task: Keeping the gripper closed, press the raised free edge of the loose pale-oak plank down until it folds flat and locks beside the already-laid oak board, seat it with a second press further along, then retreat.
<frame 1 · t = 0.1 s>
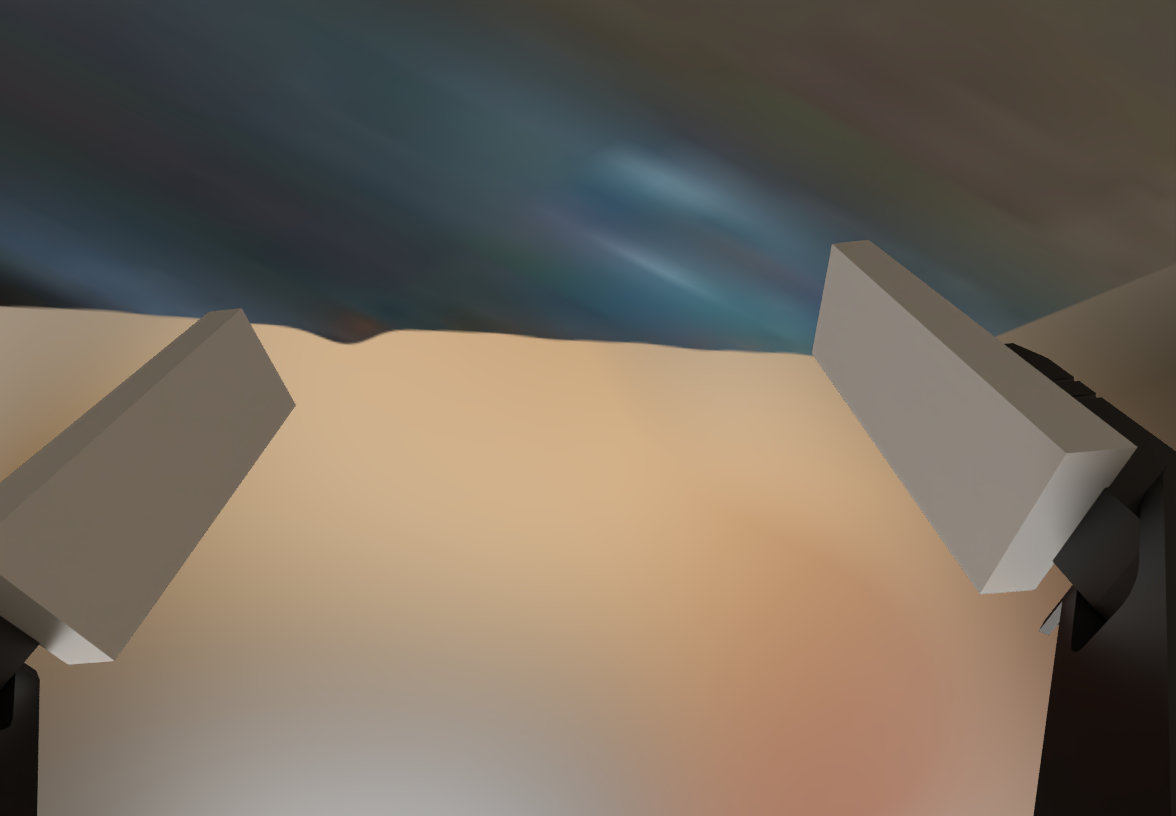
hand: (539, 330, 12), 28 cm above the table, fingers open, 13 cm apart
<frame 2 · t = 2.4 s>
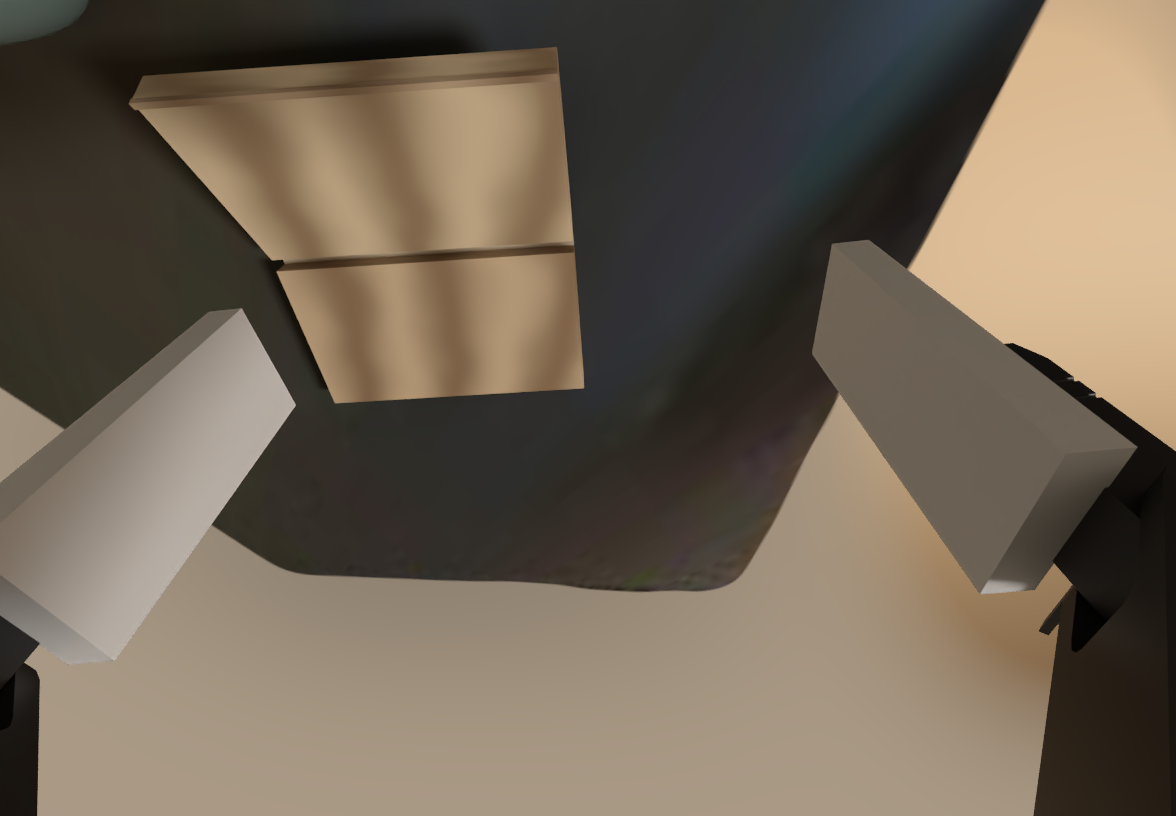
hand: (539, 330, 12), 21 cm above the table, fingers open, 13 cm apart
loose plank: (390, 172, 27), point 3 cm above the table, hinge at 28.0°
laid board: (448, 322, 36), on the table
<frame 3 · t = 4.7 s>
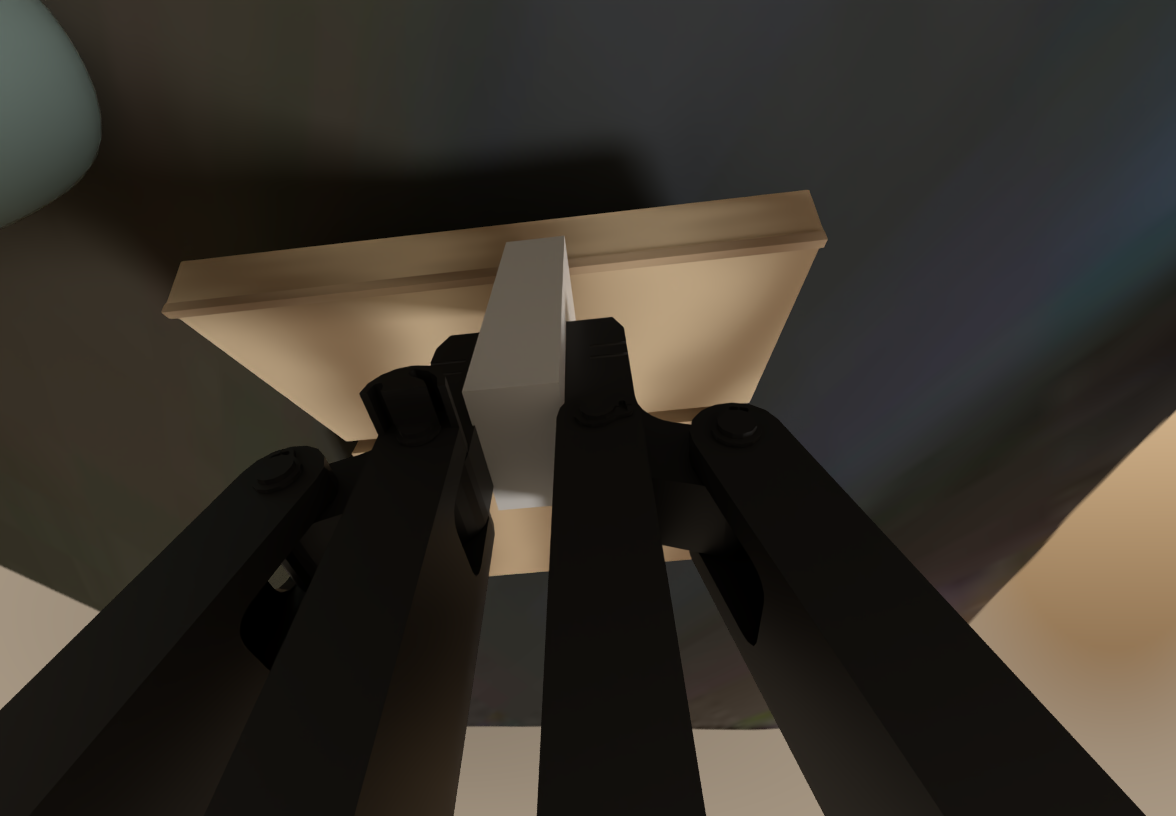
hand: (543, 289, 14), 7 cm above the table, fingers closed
cup: (11, 61, 16), on the table
loose plank: (521, 348, 19), point 3 cm above the table, hinge at 27.1°, touching gripper
laid board: (562, 486, 28), on the table
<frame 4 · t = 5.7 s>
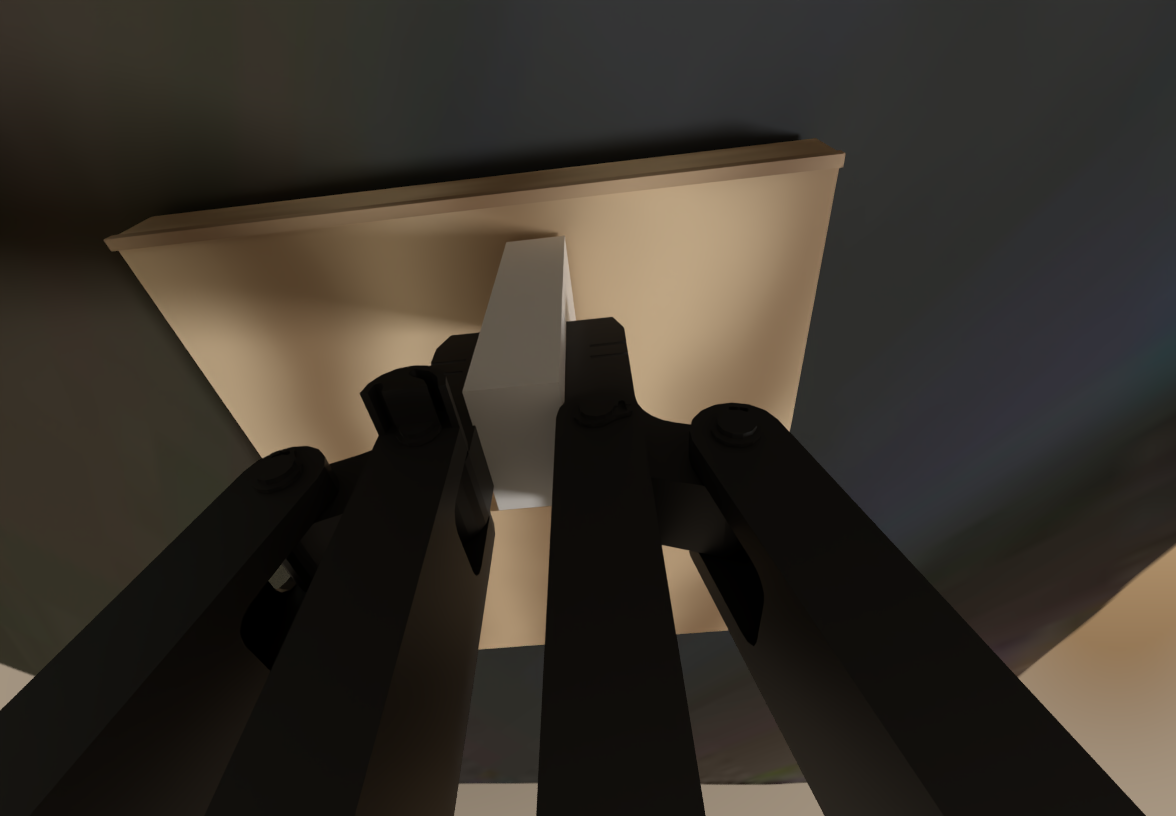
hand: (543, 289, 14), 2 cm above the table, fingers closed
loose plank: (507, 353, 16), point 1 cm above the table, hinge at 1.3°, touching gripper
laid board: (559, 552, 24), on the table
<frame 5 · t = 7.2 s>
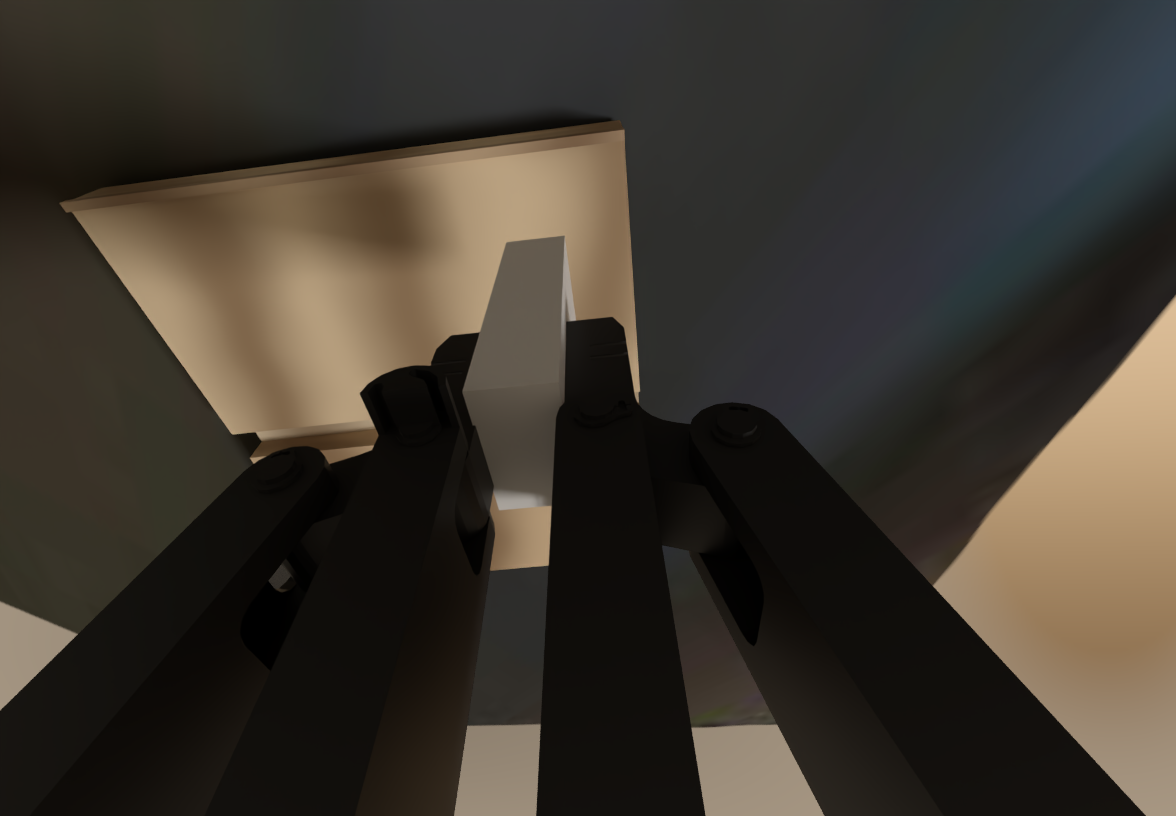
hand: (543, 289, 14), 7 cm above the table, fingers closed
loose plank: (397, 300, 20), point 1 cm above the table, hinge at 0.9°
laid board: (474, 488, 28), on the table
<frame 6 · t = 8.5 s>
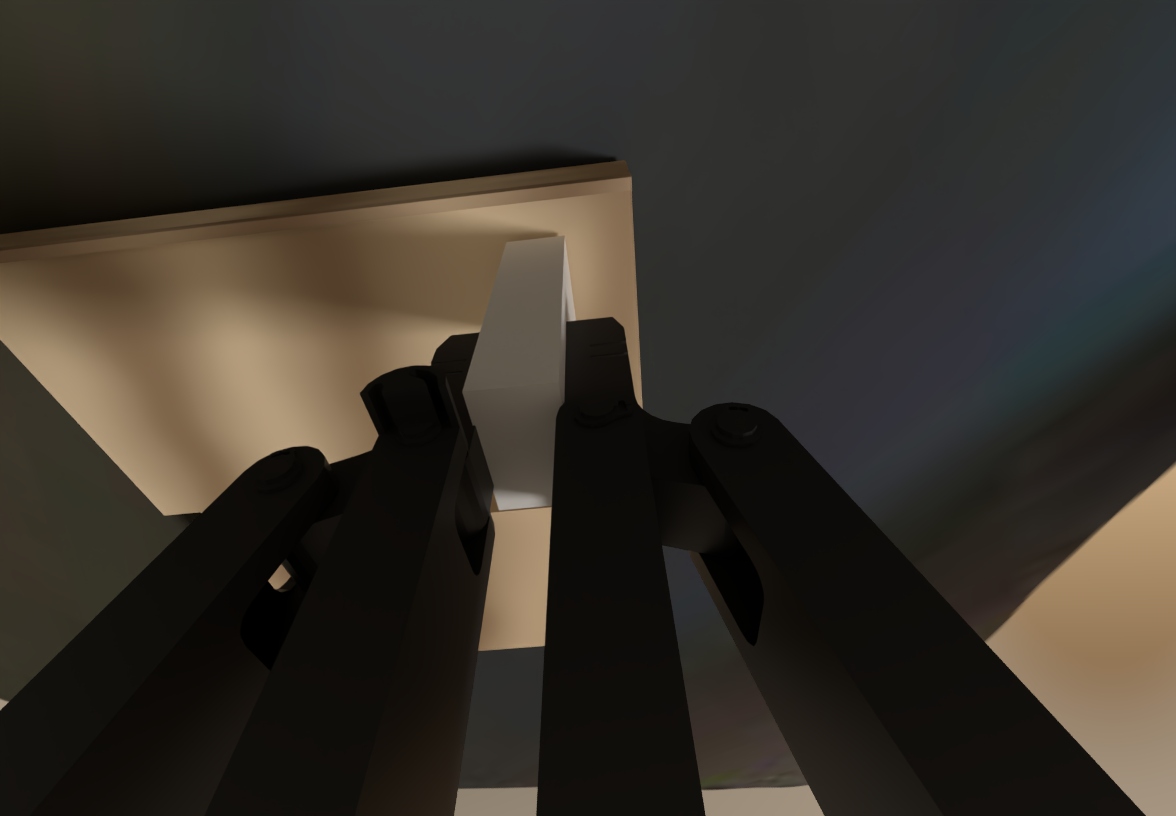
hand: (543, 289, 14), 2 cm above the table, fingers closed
loose plank: (353, 369, 16), point 1 cm above the table, hinge at 0.8°, touching gripper
laid board: (454, 562, 24), on the table
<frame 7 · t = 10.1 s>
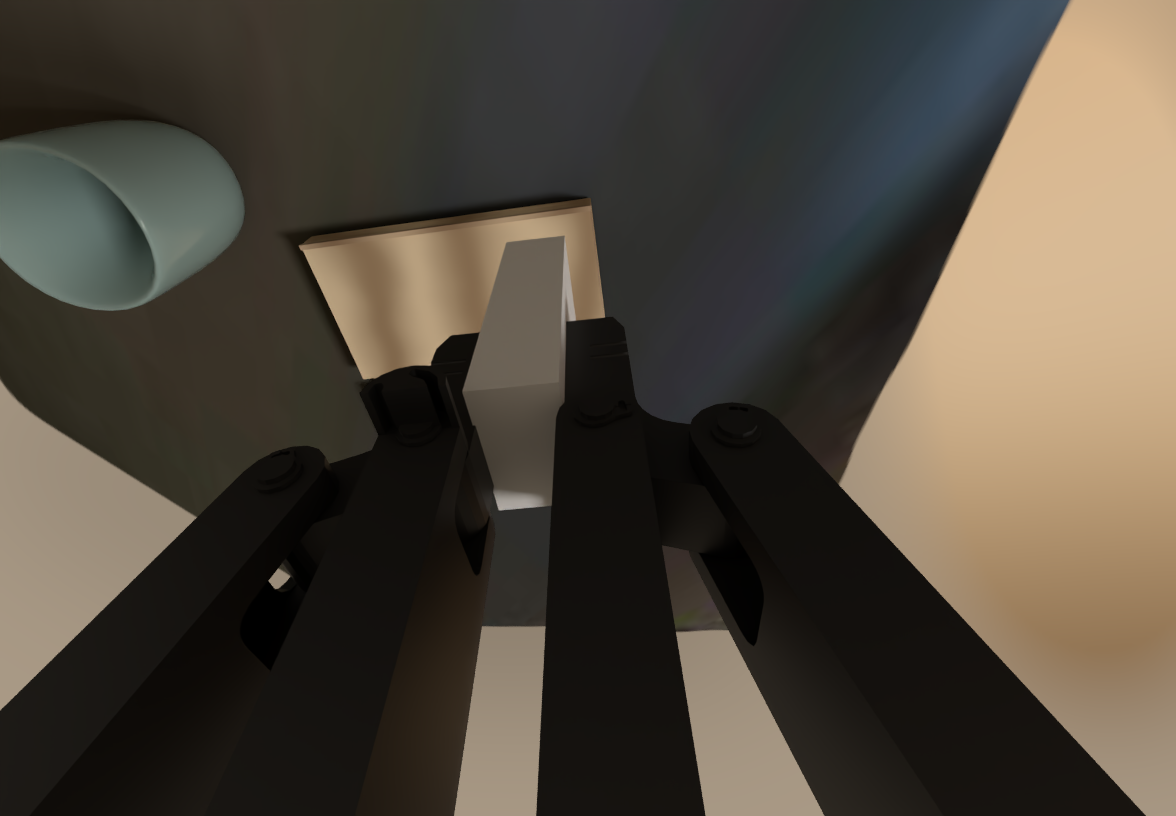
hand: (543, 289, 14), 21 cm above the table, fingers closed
cup: (199, 180, 32), on the table
loose plank: (466, 296, 35), point 1 cm above the table, hinge at 0.8°
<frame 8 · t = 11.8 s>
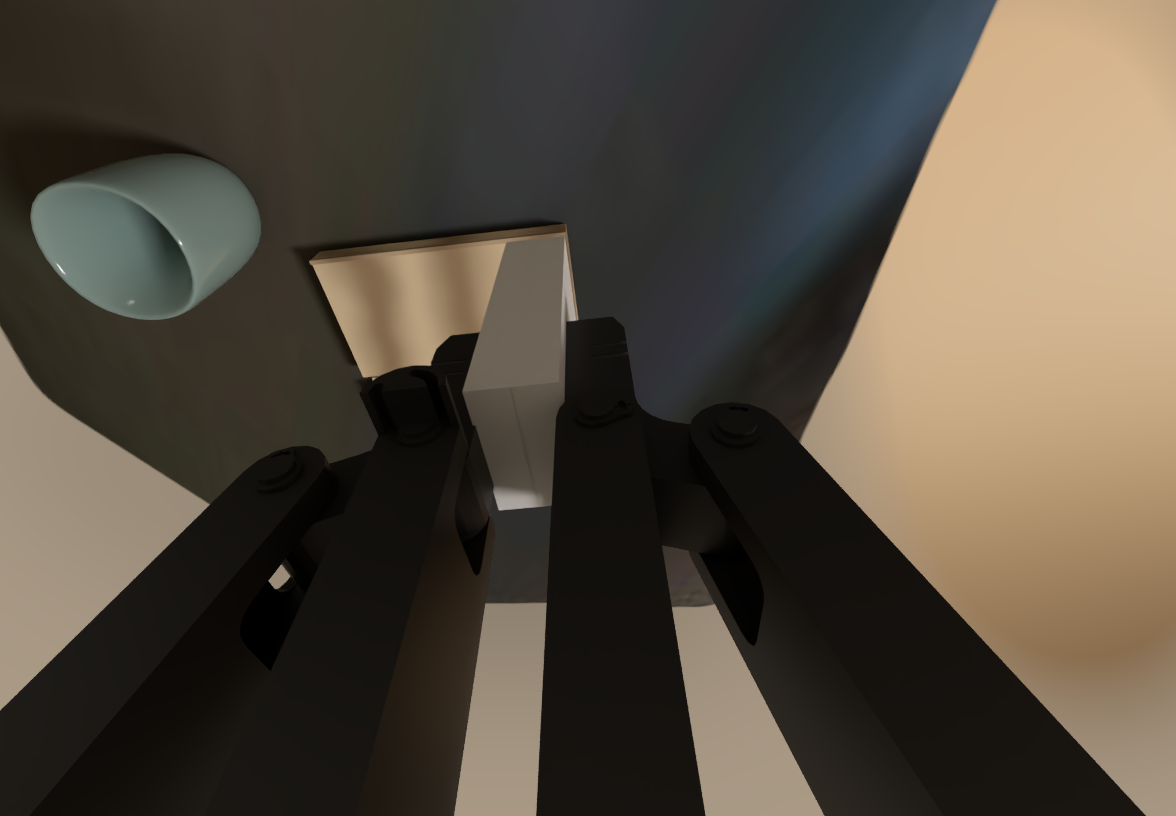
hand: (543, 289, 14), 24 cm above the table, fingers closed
cup: (220, 201, 36), on the table
loose plank: (457, 306, 40), point 1 cm above the table, hinge at 0.8°
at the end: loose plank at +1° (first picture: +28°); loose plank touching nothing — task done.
